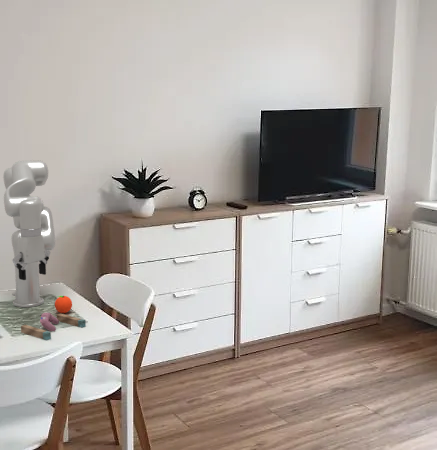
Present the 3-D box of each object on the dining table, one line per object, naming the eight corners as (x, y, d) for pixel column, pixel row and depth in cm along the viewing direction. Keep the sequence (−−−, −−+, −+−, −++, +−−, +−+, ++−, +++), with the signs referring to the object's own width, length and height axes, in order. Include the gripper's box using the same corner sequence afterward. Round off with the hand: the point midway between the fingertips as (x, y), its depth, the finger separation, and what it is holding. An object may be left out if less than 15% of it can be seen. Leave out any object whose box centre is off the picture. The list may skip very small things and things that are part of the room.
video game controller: (49, 327, 264) (40, 312, 262) (60, 322, 264) (51, 306, 262) (45, 336, 254) (36, 320, 253) (56, 330, 254) (47, 314, 253)
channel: (21, 332, 253) (20, 325, 253) (60, 319, 268) (60, 313, 268) (46, 340, 245) (46, 333, 245) (85, 326, 261) (85, 320, 260)
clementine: (49, 313, 275) (48, 296, 274) (59, 309, 282) (58, 292, 280) (66, 316, 273) (65, 299, 271) (75, 311, 279) (75, 294, 278)
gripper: (41, 227, 266) (43, 270, 269) (5, 235, 252) (7, 280, 255) (55, 230, 262) (56, 273, 265) (19, 237, 248) (21, 283, 251)
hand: (32, 276), depth 260 cm, fingers open, 9 cm apart
